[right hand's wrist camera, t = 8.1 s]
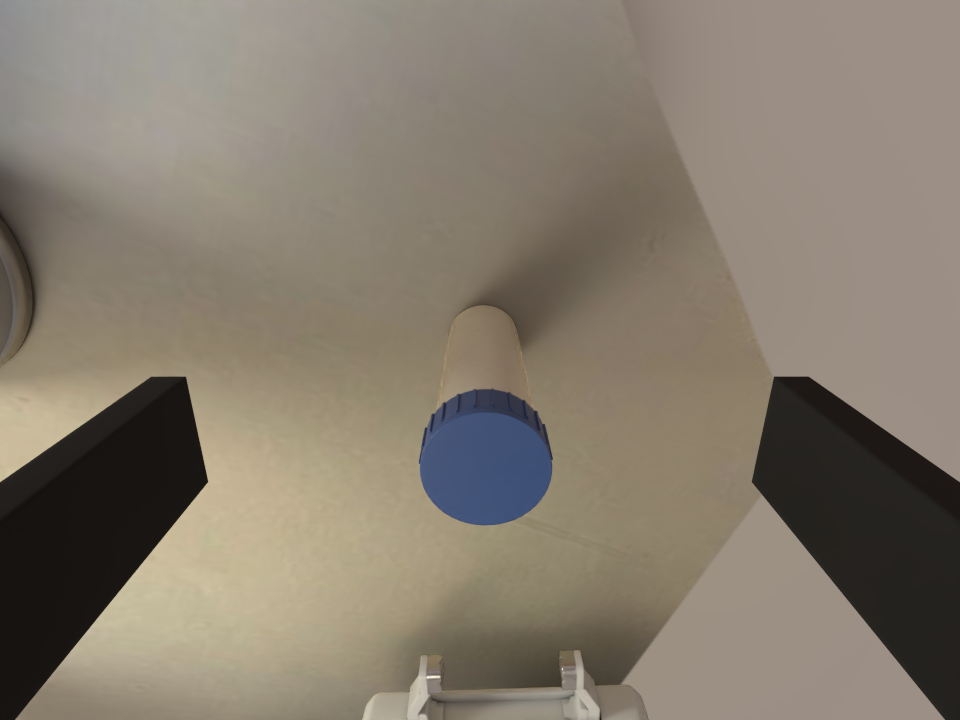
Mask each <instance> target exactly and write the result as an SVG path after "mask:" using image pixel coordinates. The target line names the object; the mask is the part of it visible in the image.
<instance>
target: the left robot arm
mask: <svg viewBox="0 0 960 720" xmlns="http://www.w3.org/2000/svg"><path fill="white" fill-rule="evenodd" d="M559 672H560V675H561V686H562V687H539V688H507V689H475V690H443V677H444V665H443V656H442V655H421V658H420V667H419V676H418V677H417V678H416V680H415V681H414V683H413V684H412V685H411V688H410V692H380V693H377V694H375V695H374V696H373V697H372V698H371V700H370V701H369V702H368V703H367V705H366V708H365V712H364V716H363V720H648V716H647V712H646V709H645V706H644V703H643V700H642V698H641V696H640V695H639V694H638V693H637V692H636V691H635V690H634V689H633V688H632V687H631V686H629V685H602V686H595V683H594V680H593V679H592V678H591V676H590V675H589V674H588V673H587V672H586V671H585V670H584V667H583V661H582V656H581V651H580V650H566V651H559ZM442 690H443V691H442Z"/></svg>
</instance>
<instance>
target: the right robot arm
mask: <svg viewBox="0 0 960 720" xmlns="http://www.w3.org/2000/svg"><path fill="white" fill-rule="evenodd" d="M32 302H33V300H32V288H31V282H30V277H29V273H28V270H27V266H26V263H25V261H24V258H23V255H22V253H21V251H20V249H19V246H18V244H17V242H16V240H15V239H14V237H13V235H12V233H11V232H10V230H9V228H8V227H7V225H6V224H5V222H4V221H3V220H2V218H1V217H0V366H2V365H3V364H4V363H6V362H7V361H8V360H9V359H10V358H11V357H12V356H13V355H14V354H15V353H16V351H17V350H18V349H19V347H20V346H21V344H22V343H23V341H24V339H25V336H26V334H27V332H28V329H29V325H30V322H31V315H32ZM207 483H208V479H207V474H206V469H205V465H204V460H203V455H202V451H201V446H200V441H199V436H198V432H197V427H196V422H195V418H194V413H193V408H192V403H191V399H190V394H189V389H188V385H187V380H186V377H150V378H149V379H148V380H146V381H145V382H143V383H142V384H140V385H139V386H137V387H136V388H135V389H133V390H132V391H130V392H129V393H127V394H126V395H125V396H123V397H122V398H120V399H119V400H117V401H116V402H115V403H113V404H112V405H110V406H109V407H107V408H106V409H105V410H103V411H102V412H100V413H99V414H97V415H96V416H95V417H93V418H92V419H90V420H89V421H87V422H86V423H85V424H83V425H82V426H80V427H79V428H77V429H76V430H74V431H73V432H72V433H70V434H69V435H67V436H66V437H64V438H63V439H62V440H60V441H59V442H57V443H56V444H54V445H53V446H52V447H50V448H49V449H47V450H46V451H44V452H43V453H42V454H40V455H39V456H37V457H36V458H34V459H33V460H32V461H30V462H29V463H27V464H26V465H24V466H23V467H21V468H20V469H19V470H17V471H16V472H14V473H13V474H11V475H10V476H9V477H7V478H6V479H4V480H3V481H1V482H0V720H15V719H16V718H17V716H18V715H19V714H20V713H21V712H22V710H23V709H24V708H25V707H26V705H27V704H28V703H29V702H30V700H31V699H32V698H33V697H34V696H35V694H36V693H37V692H38V691H39V689H40V688H41V687H42V686H43V685H44V683H45V682H46V681H47V680H48V678H49V677H50V676H51V675H52V673H53V672H54V671H55V670H56V669H57V667H58V666H59V665H60V664H61V662H62V661H63V660H64V659H65V657H66V656H67V655H68V654H69V653H70V651H71V650H72V649H73V648H74V646H75V645H76V644H77V643H78V641H79V640H80V639H81V638H82V637H83V635H84V634H85V633H86V632H87V630H88V629H89V628H90V627H91V625H92V624H93V623H94V622H95V621H96V619H97V618H98V617H99V616H100V614H101V613H102V612H103V611H104V609H105V608H106V607H107V606H108V605H109V603H110V602H111V601H112V600H113V598H114V597H115V596H116V595H117V593H118V592H119V591H120V590H121V589H122V587H123V586H124V585H125V584H126V582H127V581H128V580H129V579H130V577H131V576H132V575H133V574H134V573H135V571H136V570H137V569H138V568H139V566H140V565H141V564H142V563H143V561H144V560H145V559H146V558H147V557H148V555H149V554H150V553H151V552H152V550H153V549H154V548H155V547H156V545H157V544H158V543H159V542H160V541H161V539H162V538H163V537H164V536H165V534H166V533H167V532H168V531H169V529H170V528H171V527H172V526H173V525H174V523H175V522H176V521H177V520H178V518H179V517H180V516H181V515H182V513H183V512H184V511H185V510H186V509H187V507H188V506H189V505H190V504H191V502H192V501H193V500H194V499H195V497H196V496H197V495H198V494H199V493H200V491H201V490H202V489H203V488H204V486H205V485H206V484H207ZM752 483H753V484H754V485H755V486H756V488H757V489H758V490H759V491H760V493H761V494H762V495H763V496H764V497H765V499H766V500H767V501H768V502H769V504H770V505H771V506H772V507H773V509H774V510H775V511H776V512H777V513H778V515H779V516H780V517H781V518H782V520H783V521H784V522H785V523H786V524H787V526H788V527H789V528H790V529H791V531H792V532H793V533H794V534H795V536H796V537H797V538H798V539H799V540H800V542H801V543H802V544H803V545H804V547H805V548H806V549H807V550H808V552H809V553H810V554H811V555H812V556H813V558H814V559H815V560H816V561H817V563H818V564H819V565H820V566H821V568H822V569H823V570H824V571H825V573H826V574H827V575H828V576H829V577H830V579H831V580H832V581H833V582H834V584H835V585H836V586H837V587H838V588H839V590H840V591H841V592H842V593H843V595H844V596H845V597H846V598H847V600H848V601H849V602H850V603H851V604H852V606H853V607H854V608H855V609H856V611H857V612H858V613H859V614H860V615H861V617H862V618H863V619H864V620H865V622H866V623H867V624H868V625H869V627H870V628H871V629H872V630H873V632H874V633H875V634H876V635H877V637H878V638H879V639H880V640H881V641H882V643H883V644H884V645H885V646H886V648H887V649H888V650H889V651H890V653H891V654H892V655H893V656H894V657H895V659H896V660H897V661H898V662H899V664H900V665H901V666H902V667H903V669H904V670H905V671H906V672H907V673H908V675H909V676H910V677H911V678H912V680H913V681H914V682H915V683H916V684H917V686H918V687H919V688H920V689H921V691H922V692H923V693H924V694H925V696H926V697H927V698H928V699H929V701H930V702H931V703H932V704H933V705H934V707H935V708H936V709H937V710H938V712H939V713H940V714H941V715H942V716H943V718H944V719H945V720H960V482H959V481H957V480H956V479H954V478H953V477H951V476H950V475H949V474H947V473H946V472H944V471H943V470H941V469H940V468H939V467H937V466H936V465H934V464H933V463H931V462H930V461H928V460H927V459H926V458H924V457H923V456H921V455H920V454H918V453H917V452H916V451H914V450H913V449H911V448H910V447H908V446H907V445H905V444H904V443H903V442H901V441H900V440H898V439H897V438H896V437H894V436H893V435H891V434H890V433H888V432H887V431H886V430H884V429H883V428H881V427H880V426H878V425H877V424H875V423H874V422H873V421H871V420H870V419H868V418H867V417H865V416H864V415H863V414H861V413H860V412H858V411H857V410H855V409H854V408H853V407H851V406H850V405H848V404H847V403H845V402H844V401H843V400H841V399H840V398H838V397H837V396H835V395H834V394H833V393H831V392H830V391H828V390H827V389H825V388H824V387H823V386H821V385H820V384H818V383H817V382H815V381H814V380H812V379H811V378H810V377H774V380H773V385H772V389H771V394H770V399H769V403H768V408H767V413H766V418H765V422H764V427H763V432H762V436H761V441H760V446H759V451H758V455H757V460H756V465H755V469H754V474H753V479H752Z"/></svg>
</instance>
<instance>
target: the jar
mask: <svg viewBox="0 0 960 720" xmlns="http://www.w3.org/2000/svg"><path fill="white" fill-rule="evenodd" d="M491 388H494V390H500V391H504V392H507V393H508V392H511V394H513V395H515V396H517V397H518V398H520V399H522V400H526V403H527V404H528V405H529V406H531V407H532V409H533V404H532V399H531V394H530V389H529V385H528V380H527V375H526V370H525V365H524V361H523V356H522V351H521V346H520V341H519V337H518V332H517V328H516V326H515V324H514V322H513V320H512V319H511V318H510V316H509V315H507V314H506V313H505V312H504V311H502V310H500V309H498V308H496V307H493V306H487V305H479V306H474V307H471V308H468V309H466V310H464V311H463V312H461V313H460V314H459V315H458V316H457V317H456V318H455V319H454V321H453V323H452V324H451V327H450V329H449V334H448V340H447V346H446V352H445V358H444V364H443V370H442V377H441V383H440V389H439V395H438V401H437V407H436V411H437V410H438V409H439V408H440V407H441V406H442V403H443V402H447V401H448V400H449V399H451V398H453V397H455V396H457V394H458V393H459V394H462V393H464V392H468V391H471V390H473V389H476V390H478V389H491ZM533 410H534V409H533Z"/></svg>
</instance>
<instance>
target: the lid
mask: <svg viewBox="0 0 960 720" xmlns="http://www.w3.org/2000/svg"><path fill="white" fill-rule="evenodd" d="M551 460H553V457H552V453H551V449H550V445H549V440H548V435H547V431H546V427H545V424H542V422H541V420H540V418H539V416H538V412H537V411H534V410H533V409H532V407H531V406H529V405H528V404H527V403H526V400H522V399H520V398H518V397H517V396H515V395H513V394H511V392H508V393H507V392H504V391H500V390H494V388H491V389H478V390H476V389H473V390H471V391H468V392H464V393H462V394H459V393H458V394H457V396H455V397H453V398H451V399H449V400H448V401H447V402H443V403H442V406H441V407H440V408H439V409H438V410H437V411H436V412H435V414H432V415H431V420H430V422H429V424H428V427H427V428H426V427H425V430H424V435H423V441H422V446H421V454H420V459H419V464H420V476H421V481H422V484H423V487H424V489H425V491H426V493H427V495H428V497H429V498H430V499H431V501H432V502H433V503H434V504H435V505H436V506H437V507H438V508H439V509H440V510H442V511H443V512H444V513H446V514H447V515H449V516H451V517H452V518H455V519H457V520H459V521H462V522H465V523H470V524H475V525H496V524H502V523H506V522H509V521H512V520H515V519H517V518H519V517H521V516H523V515H524V514H526V513H527V512H529V511H530V510H531V509H532V508H534V507H535V506H536V505H537V504H538V503H539V501H540V500H541V499H542V497H543V496H544V494H545V493H546V491H547V489H548V486H549V483H550V480H551V475H552V461H551Z"/></svg>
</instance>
